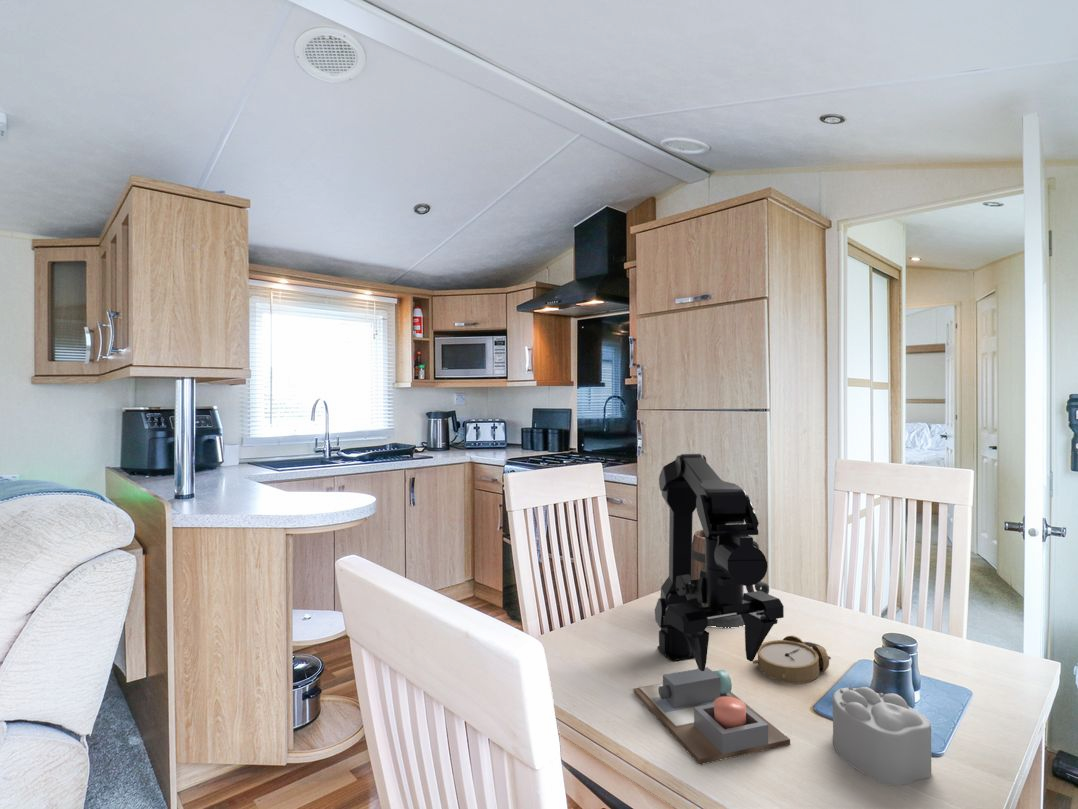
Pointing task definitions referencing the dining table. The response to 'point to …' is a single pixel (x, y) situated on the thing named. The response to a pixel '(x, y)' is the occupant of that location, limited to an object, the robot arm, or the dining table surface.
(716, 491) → the robot arm
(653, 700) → the picture frame
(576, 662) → the dining table surface
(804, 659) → the alarm clock
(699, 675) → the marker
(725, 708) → the button
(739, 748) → the button housing
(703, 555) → the tankard
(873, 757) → the lumpy-topped squat cylinder
